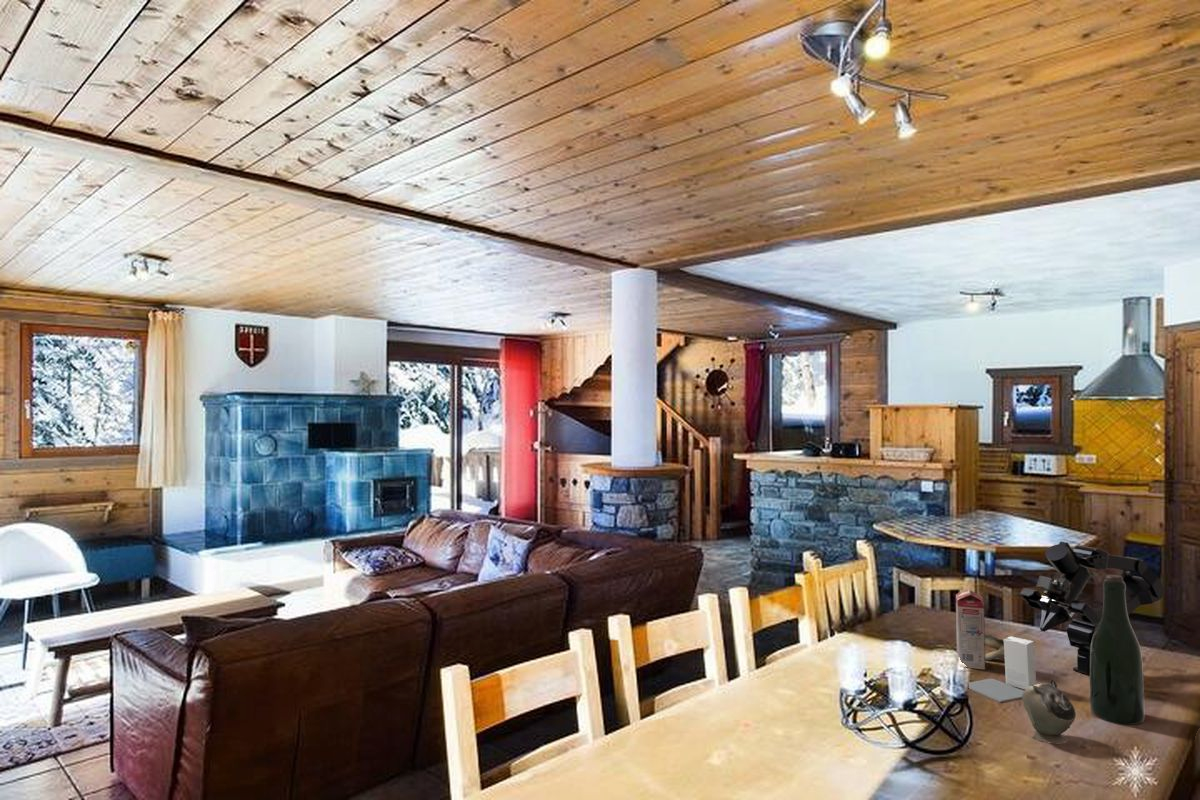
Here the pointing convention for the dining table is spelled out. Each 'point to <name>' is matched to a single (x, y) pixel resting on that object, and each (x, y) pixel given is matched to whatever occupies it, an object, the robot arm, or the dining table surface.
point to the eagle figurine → (995, 644)
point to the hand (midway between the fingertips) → (1041, 630)
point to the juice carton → (970, 629)
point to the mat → (996, 690)
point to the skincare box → (1019, 662)
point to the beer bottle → (1116, 661)
